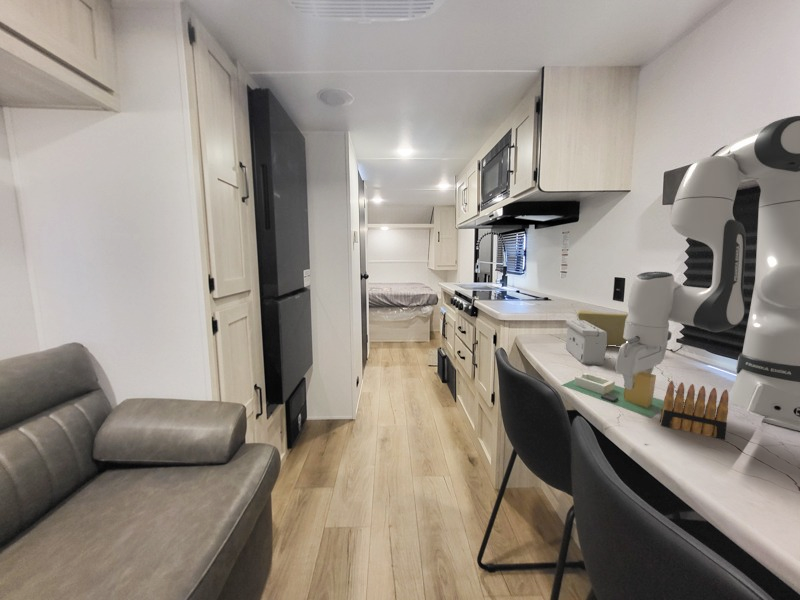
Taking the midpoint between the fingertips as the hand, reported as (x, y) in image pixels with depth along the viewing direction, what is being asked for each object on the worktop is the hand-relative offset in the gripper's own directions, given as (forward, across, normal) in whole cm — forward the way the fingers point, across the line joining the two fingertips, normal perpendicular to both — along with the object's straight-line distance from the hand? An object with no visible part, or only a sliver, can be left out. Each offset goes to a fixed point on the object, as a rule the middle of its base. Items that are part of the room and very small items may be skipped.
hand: (636, 384), depth 82 cm
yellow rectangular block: (+5, 0, -1) cm, 5 cm away
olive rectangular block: (+7, +55, +33) cm, 65 cm away
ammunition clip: (+6, -6, -13) cm, 15 cm away
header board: (+6, 0, +5) cm, 8 cm away
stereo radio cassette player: (+7, +29, +29) cm, 42 cm away
